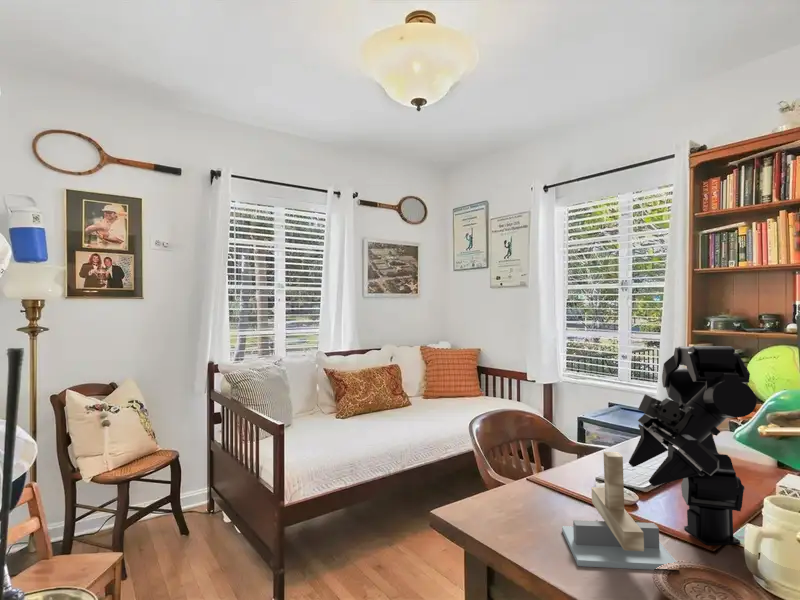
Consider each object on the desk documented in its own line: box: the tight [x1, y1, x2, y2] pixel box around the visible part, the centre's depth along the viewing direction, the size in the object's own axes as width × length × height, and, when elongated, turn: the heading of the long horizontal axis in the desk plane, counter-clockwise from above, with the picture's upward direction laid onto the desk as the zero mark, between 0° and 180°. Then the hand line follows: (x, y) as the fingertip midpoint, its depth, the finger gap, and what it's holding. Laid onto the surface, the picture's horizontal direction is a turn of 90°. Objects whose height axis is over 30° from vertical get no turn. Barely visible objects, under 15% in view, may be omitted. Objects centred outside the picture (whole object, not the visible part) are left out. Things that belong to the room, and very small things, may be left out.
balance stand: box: [561, 519, 677, 571], centre depth 82 cm, size 16×12×4 cm
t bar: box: [591, 451, 644, 551], centre depth 82 cm, size 3×18×12 cm, turn 173°
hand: (640, 473), depth 82 cm, fingers open, 9 cm apart
